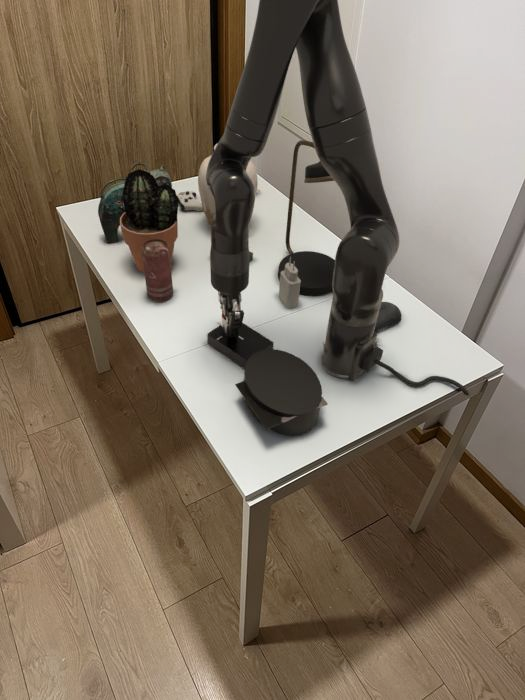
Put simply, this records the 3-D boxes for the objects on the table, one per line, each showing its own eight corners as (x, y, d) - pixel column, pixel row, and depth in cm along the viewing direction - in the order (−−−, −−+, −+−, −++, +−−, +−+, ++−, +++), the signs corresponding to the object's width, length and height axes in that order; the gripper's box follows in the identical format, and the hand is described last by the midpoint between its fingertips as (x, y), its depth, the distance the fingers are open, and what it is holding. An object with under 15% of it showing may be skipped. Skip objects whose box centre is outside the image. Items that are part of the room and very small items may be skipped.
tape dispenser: (288, 365, 114) (288, 339, 109) (335, 422, 102) (338, 395, 97) (226, 389, 109) (224, 362, 104) (268, 451, 97) (268, 424, 92)
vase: (236, 247, 144) (237, 166, 128) (188, 229, 149) (184, 149, 133) (265, 222, 154) (270, 144, 138) (219, 206, 159) (219, 129, 143)
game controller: (206, 208, 156) (191, 197, 152) (194, 221, 157) (179, 211, 153) (196, 192, 162) (182, 181, 158) (185, 206, 164) (170, 195, 160)
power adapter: (287, 309, 126) (291, 267, 118) (277, 295, 129) (281, 254, 121) (298, 306, 127) (304, 264, 119) (289, 292, 130) (293, 251, 122)
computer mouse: (413, 323, 124) (417, 310, 122) (370, 348, 117) (374, 336, 115) (381, 301, 130) (384, 288, 127) (338, 324, 123) (341, 311, 120)
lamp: (300, 305, 127) (319, 147, 100) (258, 258, 141) (265, 107, 114) (356, 288, 133) (388, 134, 106) (310, 244, 146) (329, 98, 120)
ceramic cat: (171, 222, 151) (166, 154, 137) (179, 234, 147) (173, 164, 133) (101, 235, 145) (88, 165, 131) (106, 248, 141) (93, 176, 127)
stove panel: (272, 352, 115) (273, 341, 113) (247, 371, 111) (248, 360, 108) (230, 324, 121) (230, 313, 119) (204, 341, 117) (204, 331, 114)
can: (169, 305, 125) (164, 255, 115) (144, 300, 126) (136, 250, 116) (177, 289, 129) (173, 240, 120) (152, 285, 130) (146, 236, 120)
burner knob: (236, 324, 117) (236, 307, 113) (240, 335, 114) (240, 318, 111) (220, 327, 116) (219, 310, 112) (224, 338, 113) (224, 320, 110)
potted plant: (142, 286, 129) (128, 191, 112) (117, 259, 137) (101, 166, 120) (190, 269, 136) (185, 176, 118) (164, 244, 143) (156, 153, 126)
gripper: (258, 283, 99) (255, 349, 111) (239, 241, 108) (238, 306, 120) (218, 288, 97) (220, 355, 109) (203, 246, 107) (205, 311, 119)
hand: (229, 329), depth 115 cm, fingers closed on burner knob, 3 cm apart
